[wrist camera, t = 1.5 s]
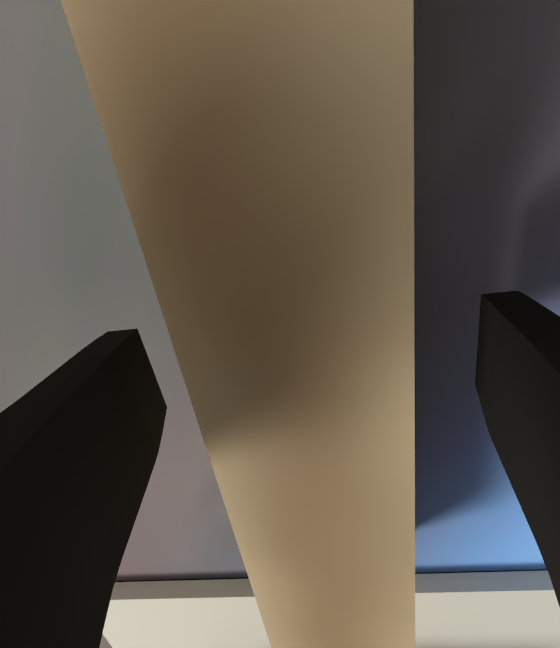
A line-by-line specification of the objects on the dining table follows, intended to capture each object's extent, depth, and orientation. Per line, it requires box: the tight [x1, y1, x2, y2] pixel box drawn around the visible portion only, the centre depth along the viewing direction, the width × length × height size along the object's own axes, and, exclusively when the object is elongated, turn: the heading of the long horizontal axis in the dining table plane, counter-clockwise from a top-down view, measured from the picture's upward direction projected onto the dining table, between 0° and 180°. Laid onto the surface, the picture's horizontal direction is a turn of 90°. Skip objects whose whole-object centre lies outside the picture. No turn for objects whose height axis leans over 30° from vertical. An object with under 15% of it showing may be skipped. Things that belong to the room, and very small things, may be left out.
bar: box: [61, 0, 415, 648], centre depth 10 cm, size 4×16×4 cm, turn 8°
